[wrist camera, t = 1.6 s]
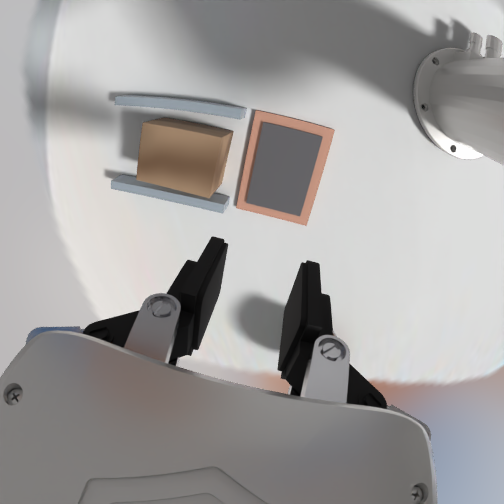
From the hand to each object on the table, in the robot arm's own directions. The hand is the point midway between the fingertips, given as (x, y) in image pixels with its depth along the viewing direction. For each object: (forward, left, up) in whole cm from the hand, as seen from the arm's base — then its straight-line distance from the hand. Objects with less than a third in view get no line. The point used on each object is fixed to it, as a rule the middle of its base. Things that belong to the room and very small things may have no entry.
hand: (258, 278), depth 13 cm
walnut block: (0, -10, -19) cm, 22 cm away
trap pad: (0, 0, -19) cm, 19 cm away
